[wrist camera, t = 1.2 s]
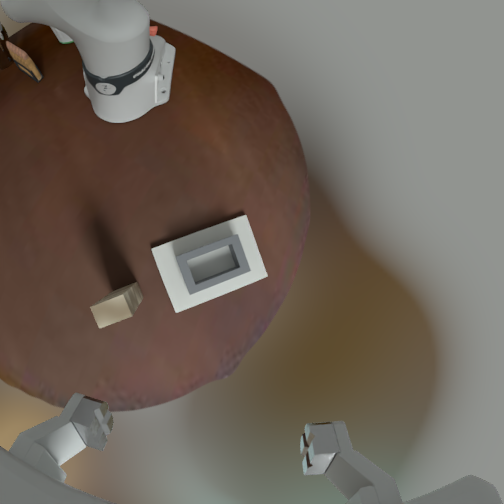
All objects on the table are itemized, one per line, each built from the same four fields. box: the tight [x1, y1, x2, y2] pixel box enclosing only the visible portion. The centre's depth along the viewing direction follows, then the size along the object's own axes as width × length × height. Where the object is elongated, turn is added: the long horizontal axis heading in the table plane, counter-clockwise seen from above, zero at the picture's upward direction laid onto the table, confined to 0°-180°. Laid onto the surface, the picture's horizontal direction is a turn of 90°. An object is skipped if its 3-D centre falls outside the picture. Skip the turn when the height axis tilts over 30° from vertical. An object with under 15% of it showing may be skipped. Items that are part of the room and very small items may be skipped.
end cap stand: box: [151, 215, 267, 313], centre depth 48 cm, size 12×18×4 cm, turn 110°
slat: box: [90, 282, 143, 328], centre depth 39 cm, size 3×5×15 cm, turn 110°
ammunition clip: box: [6, 41, 43, 83], centre depth 32 cm, size 11×2×12 cm, turn 54°
